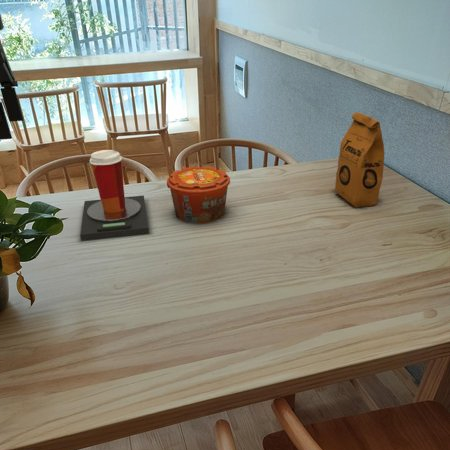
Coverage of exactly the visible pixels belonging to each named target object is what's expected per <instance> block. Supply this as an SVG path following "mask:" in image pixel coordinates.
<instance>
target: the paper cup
mask: <svg viewBox="0 0 450 450" xmlns="http://www.w3.org/2000/svg"><path fill="white" fill-rule="evenodd" d="M122 160H123V157H122V155H121V153H120V152H119V151H116V150H114V149H102V150H97V151H95V152H92V153H91V154H90V159H89V163H90V164H91V168H92V171H93V176H94V179H95V183H96V187H97V190H98V194H99V198H100V199H99V200H101V202H102V206H103V209H104V211H105V212H108V213H117V212H120V211H123V210H124V209H125V197H126V196H125V188H124V187H125V186H124V179H123V178H124V177H123V167H122Z"/></svg>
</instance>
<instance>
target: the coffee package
mask: <svg viewBox="0 0 450 450" xmlns="http://www.w3.org/2000/svg"><path fill="white" fill-rule="evenodd" d="M351 119H352V120H353V121H352V122H351V124H350V126H349V128H348V130H347V131H346V133H345V134H344V136H343V138H342V140H341V142H340V145H339V155H338V161H337V169H336V172H335V187H334V193H336V194H338V195H339V196H340V197H342V199H344V200H345V201H346V202H347V203H349V204H350V205H352V206H353V207H354V208H359V207H371V206H377V204H378V202H379V201H378V200H379V196H380V189H381V186H382V182H383V179H384V178H383V177H384V167H385V165H384V164H385V143H384V139H383V133H382V129H381V123H380V121H379V120H376V119H374V118H373V117H371V116H369V115H366V114H364V113H360V112H357V111H355V112H354V113H353V114H352V116H351Z"/></svg>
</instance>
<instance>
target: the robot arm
mask: <svg viewBox="0 0 450 450" xmlns="http://www.w3.org/2000/svg"><path fill="white" fill-rule="evenodd" d="M1 15H2V14H0V31H3V30H4V23H3V22H4V21H3V19H2V16H1ZM0 87H1V88H0V93H1V96H2V99H3V102H2V101H0V141H2V140H3V141H4V140H12V139H13V136H12V133H11V129H10V125H9V123H8V120H9V122H11V123H12V122H23V121H24V116H23V114H22V110H21V106H20V102H19V99H18V94H17V91H16V88H15V87H19V82H18V80H16V77H15V76H14V72H13V70H12V67H11V65H10V62H9V60H8V56H7V54H6V52H5V50H4V46H3V43H2V39H0ZM3 104H4V105H3ZM4 106H5V107H4ZM4 108H5V109H4ZM5 111H6V112H5ZM6 114H7V116H6ZM7 117H8V119H7Z"/></svg>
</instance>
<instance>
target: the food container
mask: <svg viewBox="0 0 450 450" xmlns="http://www.w3.org/2000/svg"><path fill="white" fill-rule="evenodd" d="M229 185H231V177H230V176H229V175H228V174H227V172H226V171H224V170H223V169H218V168H217V167H214V166H207V165H205V166H202V167H198V166H188V167H184V168H182V169H181V170H179V169H177V170H175V171H173V172H172V173H171V174H170V175H169V176H168V177H167V179H166V187H167V189H169V190H170V194H171V195H170V196H171V200H172V204H173V208H174V214H175V217H176V218H177V219H178V220H180V221H181V222H184V223H188V224H207V223H208V224H209V223H212V222H215V221H218V220H220V219H222V217H224V215H225V211H226V205H227V195H228V187H229Z"/></svg>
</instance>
